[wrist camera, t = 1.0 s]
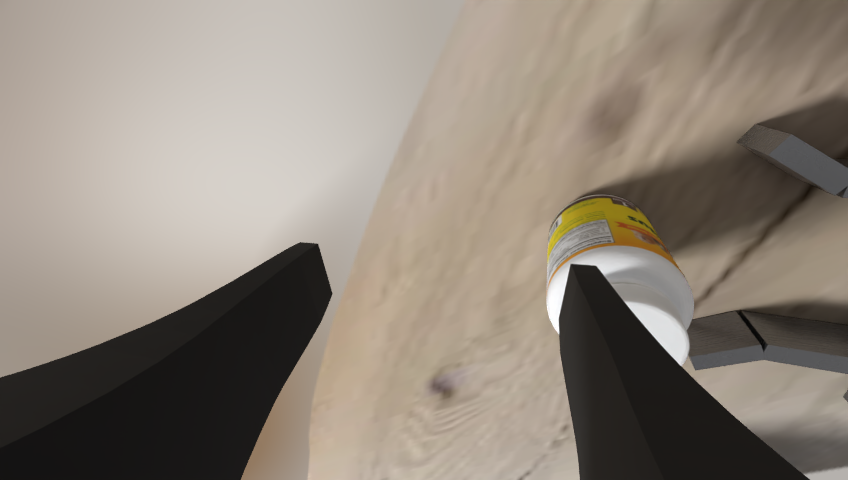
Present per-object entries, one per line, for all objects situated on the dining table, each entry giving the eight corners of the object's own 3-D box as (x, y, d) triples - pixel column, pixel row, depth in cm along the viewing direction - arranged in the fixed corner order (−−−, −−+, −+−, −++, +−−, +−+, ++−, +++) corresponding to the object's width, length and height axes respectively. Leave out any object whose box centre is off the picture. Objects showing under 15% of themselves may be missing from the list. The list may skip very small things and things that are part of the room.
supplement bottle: (663, 255, 21) (743, 390, 12) (570, 284, 23) (580, 412, 15) (627, 173, 20) (687, 258, 11) (532, 213, 22) (520, 308, 14)
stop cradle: (865, 400, 21) (909, 447, 18) (660, 363, 24) (673, 398, 21) (1114, 57, 13) (1253, 54, 10) (762, 67, 16) (802, 67, 13)
